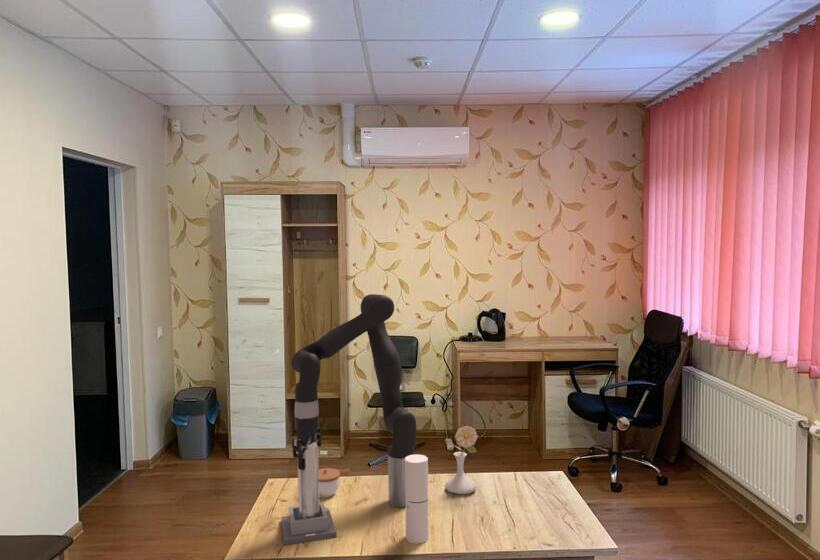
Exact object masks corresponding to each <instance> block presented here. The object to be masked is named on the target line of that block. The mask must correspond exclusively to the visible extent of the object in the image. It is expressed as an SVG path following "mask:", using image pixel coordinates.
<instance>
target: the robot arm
mask: <svg viewBox="0 0 820 560" xmlns="http://www.w3.org/2000/svg"><path fill="white" fill-rule="evenodd" d="M394 311H395V303H394V301H393V300H392V298H391V297H389V296H388V295H385V294H377V293H376V294H372V293H371V294H367V295H365V296H364V297H363V298H362V300H361V303H360V314H359V315H357V316H355V317H353V318H352V319H350V320H348V321H346V322H344V323H343V322H342V323H341V324H339V325H337V326H336V327H334V328H332V329H331V330H329V331H328V332H327V333H325V334H324V335H323V336H321V337H319V339H317V340H316V341H313V342H311V343H310V344H308V345H306V346H304V347H303V348H301V349H299V350H297V351H296V352H295V353H294V355H293V356H292V358H291V362H290V365H291V367H292V369H293V370H294V371H295V372H296V373H299V380H298V382H297V383H296V384H295V386H294V393H295V394H294V398H295V401H294V429H295V431H297V432H298V434H297V438H295V439H294V438H293V439H291V447H292V456H293V459H297V469H298V468H299V470H305V468H306V465H305V455H306V451H307V449H308V446H309V444H311V443H313V442H316V444H317V445H318V448H320V447H321V446H322V437H323V435H322V432H323V429H322V427H321V428H320V415H319V414H320V412H319V411H320V410H319V409H320V408H319V401H318V399H319V398H318V385H319V381H320V380H319V379H320V375H321V362H320V361H322V360H323V359H324V360H325V359H330V358H331V357H333V356H334V355H336V354H337V353H338V352H340V351H341V350H342V349H343V348H345V347H347V345H349V344H350V343H351V342H353V341H354V340H355V339H357V338H358V337H360V336H361V335H363V334H365V333H367V336H368V340H369V345H370V351H371V354H372V359H373V366H374V371H375V376H376V379H377V384H378V390H379V393H380V398H381V403H382V404H381V406H382V415H383V423H384V426H385V429H387V431H389V432H390V433H391V434H392V444H391V443H390V445H388V448H387V462H388V463H387V467H388V468H387V469H388V470H387V472H388V474H387V475H388V476H387V478H388V479H387V481H388V504H389V505H390V506H393V507H396V508H405V457H407V456H409V455H415V448H416V445H417V420H416V417H415V415H414V414H412V412H410V411H408V410H407V409H405V408H404V406H403V402H402V397H401V391H400V390H401V389H400V388H401V383H402V379H403V378H402V377H403V371H402V370H403V369H402V363H401V359H400V355H399V352H398V350H397V348H396V345H394V343H393V341H392V338H391V337H390V335H389V333H388V330H387V327H386V323H385V322H386V321H387V320H389V319H390V318H391V317H392V316H393V314H394ZM301 446H305V448H301ZM301 450H303V454H302V451H301Z"/></svg>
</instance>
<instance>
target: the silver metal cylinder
mask: <svg viewBox="0 0 820 560" xmlns="http://www.w3.org/2000/svg"><path fill="white" fill-rule="evenodd" d="M301 448H305V446H301ZM301 451H302V454H303V450H301ZM305 465H306V468H305V470H299V468H298V467H297V480H298V481H297V484H298V487H297V489H298V506H299V520H302V519H309V518H316V517H320V512H319V503H320V497H319V469H320V468H319V447H318V445H317V444H316V442H313V443H311V444H309V446H308V449H307V451H306V455H305Z"/></svg>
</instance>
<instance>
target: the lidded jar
mask: <svg viewBox="0 0 820 560" xmlns="http://www.w3.org/2000/svg"><path fill="white" fill-rule="evenodd" d="M340 482H341V472H340V470H338V469H336V468H331V467H330V468H329V467H326V468H325V467H324V468H319V498H324V499H325V498H330V497H333V496H334V495H335V493H337V491H338V489H339V486H340Z"/></svg>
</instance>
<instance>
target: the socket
mask: <svg viewBox="0 0 820 560" xmlns="http://www.w3.org/2000/svg"><path fill="white" fill-rule="evenodd" d="M329 509H330V508H329V507H326V506H325V504H324V502H319V512H320V517H316V518H309V519H302V520H299V505H294V506H293V505H292V506H288V513H286V515H285V516H281V518H280V519H281V527H282V535H283V544H284V546H285V545H286V546H288V545H291V544H299V543H306V542H312V541H313V542H314V541H319V540H325V539H326V540H327V539H331V538H337V529H336V526H335V523H334V520H333V518H332V513H331V511H330V510H329Z"/></svg>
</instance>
